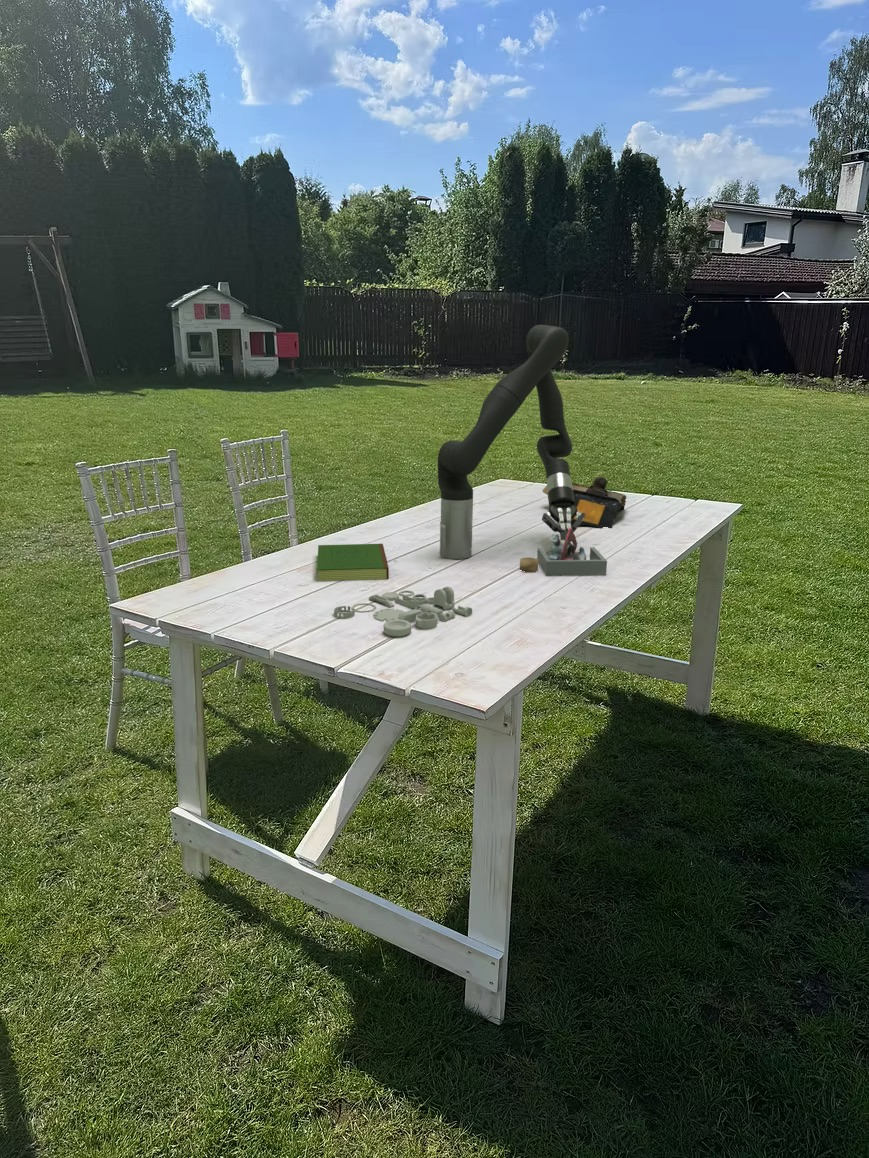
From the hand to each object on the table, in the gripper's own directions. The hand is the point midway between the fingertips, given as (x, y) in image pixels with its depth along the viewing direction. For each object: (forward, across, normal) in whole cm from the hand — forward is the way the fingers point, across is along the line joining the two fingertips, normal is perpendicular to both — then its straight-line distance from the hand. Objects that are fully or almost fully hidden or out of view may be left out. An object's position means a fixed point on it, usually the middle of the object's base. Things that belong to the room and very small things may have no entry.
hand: (566, 543), depth 223 cm
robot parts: (+33, -48, -25) cm, 64 cm away
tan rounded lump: (+10, -12, -2) cm, 16 cm away
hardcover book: (+6, -61, +2) cm, 61 cm away
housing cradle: (+8, 0, -1) cm, 8 cm away
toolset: (-37, +18, +46) cm, 61 cm away
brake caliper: (+7, -1, +1) cm, 7 cm away
